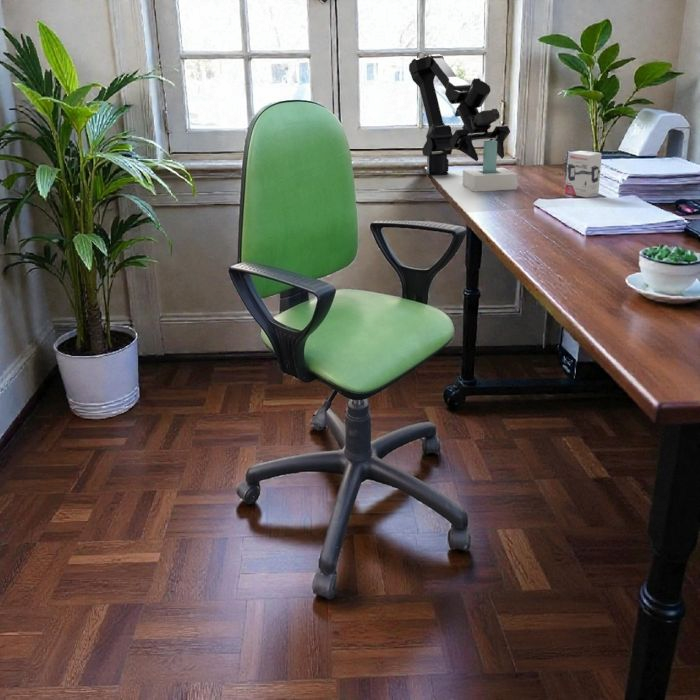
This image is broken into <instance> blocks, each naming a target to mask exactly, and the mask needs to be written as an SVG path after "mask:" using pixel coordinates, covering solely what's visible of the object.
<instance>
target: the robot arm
mask: <svg viewBox="0 0 700 700" xmlns="http://www.w3.org/2000/svg"><path fill="white" fill-rule="evenodd" d="M408 71H409V74H410V76H411V79H412V81H413V82H414V83H415V85H417V87H418V88H419V91H420V95H421V100H422V104H423V109H424V112H425V115H426V121H427V125H428V130H427V133H426V136H425V137H426V138H425V139H426V141H425V143H424V145H423V147H422V149H421V152H422V155H423V156H425V157H426V170H425V173H426V174H427V175H429V176H433V174H437V175H438V176H439V175H447V174H449V161H450V160H449V158H448V155H452V152H453V149H456V150H457V151H461V152H462V153H464V154H465V155H466V156H468V157H469V158H471V159H472V160H473V161H475V162H478V161H479V156H478V152H477V151H476V148H475V147H474V145H473V141H487V140H489V141H497V155H498V156H499V157H500V159H504V158H505V149H504V148H505V147H504V145H505V144H504V142H505V141H506V139H507V137H508V136H510V134H511V130H510V128H509V126H508V125H497V126H495V127H494V129H493V130H492V131H489V130H490V129H491V127H492V123H495V122H496V121H497V120H499V119H500V112H499V110H498V108H492V109H491V110H490V109H489V110H481V111H480V110H479V108H481V107H482V106H483V105H484V104H485V101H486V100H487V98H488V96H489V94H490V93H491V86H490V85H489V84H488V83H487V82H485V81H483V80H482V79H480V77H478V78H477V77H476V78H473V79H472V82H471V83H469V82H467V81H466V80H464V79H461V78H459V76H457V75H456V73H455V72H454V71H453V69H452V68H451V67H450V66H449V64H448V63H447V62H446V60H445V59H444V56H443V55H442V54H439V53H438V54H428V55H426V56H424V57H421V58H413V59H412V60H411V62H410V63H409V64H408ZM435 78H437V79H438V80H439V82H440V83H441V84H442V86H443V88H444V89H445V93H444V94H445V97H446V98H447V101H448V102H449V103H450V104H451V105H457V104H459V105H458V107H456V110H455V112H454V117H455V118H457V117H460V119H461V121H462V124H463V126H462V128H461V129H456V130H455V131H454V133H453V132H452V127H451V125H449V124H448V125H446V124H445V122H444V121H443V120H444V119H443V117H442V116H443V115H442V113H441V108H440V103H439V100H438V96H437V91H436V87H435V84H434V82H435Z"/></svg>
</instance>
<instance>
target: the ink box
mask: <svg viewBox="0 0 700 700" xmlns="http://www.w3.org/2000/svg"><path fill="white" fill-rule="evenodd" d="M602 155H603V154H602V153H601V152H598V151H597V152H595V151H589V150H577V151H571V152H570V151H569V152H568V154H567V165H566V166H567V167H566V175H565V176H566V177H565V179H566V180H565V191H564V193H565V194H567V195H571V196H572V195H573V196H577V197H583V198H591V197H597V196H599V191H600V189H599V188H600V178H601V168H602V167H601V166H602V158H603V157H602Z"/></svg>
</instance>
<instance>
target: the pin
mask: <svg viewBox="0 0 700 700" xmlns="http://www.w3.org/2000/svg"><path fill="white" fill-rule="evenodd" d="M482 152H483V154H482V169H483V174H489V173H496V168H497V160H498V159H497V158H498V157H497V155H498V154H497V141H490V140H483V151H482Z"/></svg>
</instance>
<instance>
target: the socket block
mask: <svg viewBox="0 0 700 700" xmlns="http://www.w3.org/2000/svg"><path fill="white" fill-rule="evenodd" d="M462 185H463V186H464V187H465V188H468V189H469V190H471V191H473V192H475V193H477V192H492V191H493V192H494V191H507V190H510V191H512V190H517V188H518V187H517V186H518V173H515V172H513V171H512V170H509V169H507V168H505V167H496V173H489V174H483V168H473V169H462Z"/></svg>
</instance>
